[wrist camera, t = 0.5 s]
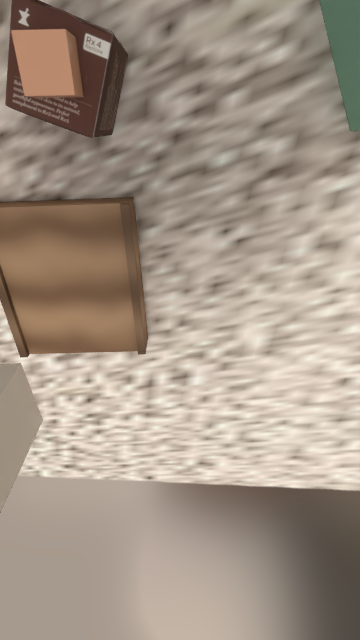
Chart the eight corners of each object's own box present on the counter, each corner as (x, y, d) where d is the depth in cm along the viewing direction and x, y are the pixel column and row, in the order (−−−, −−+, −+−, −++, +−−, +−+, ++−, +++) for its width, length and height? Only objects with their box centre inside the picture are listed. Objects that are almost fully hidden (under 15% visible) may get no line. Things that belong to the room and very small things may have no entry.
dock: (-13, 202, 32) (-31, 210, 29) (133, 197, 32) (129, 204, 29) (31, 341, 40) (20, 357, 37) (147, 338, 40) (145, 354, 37)
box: (42, 109, 28) (1, 105, 22) (52, 19, 25) (9, -15, 19) (113, 136, 29) (93, 140, 23) (131, 53, 26) (114, 32, 20)
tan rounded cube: (25, 38, 20) (10, 30, 18) (75, 37, 20) (65, 28, 18) (37, 98, 22) (24, 95, 20) (83, 97, 22) (74, 95, 20)
